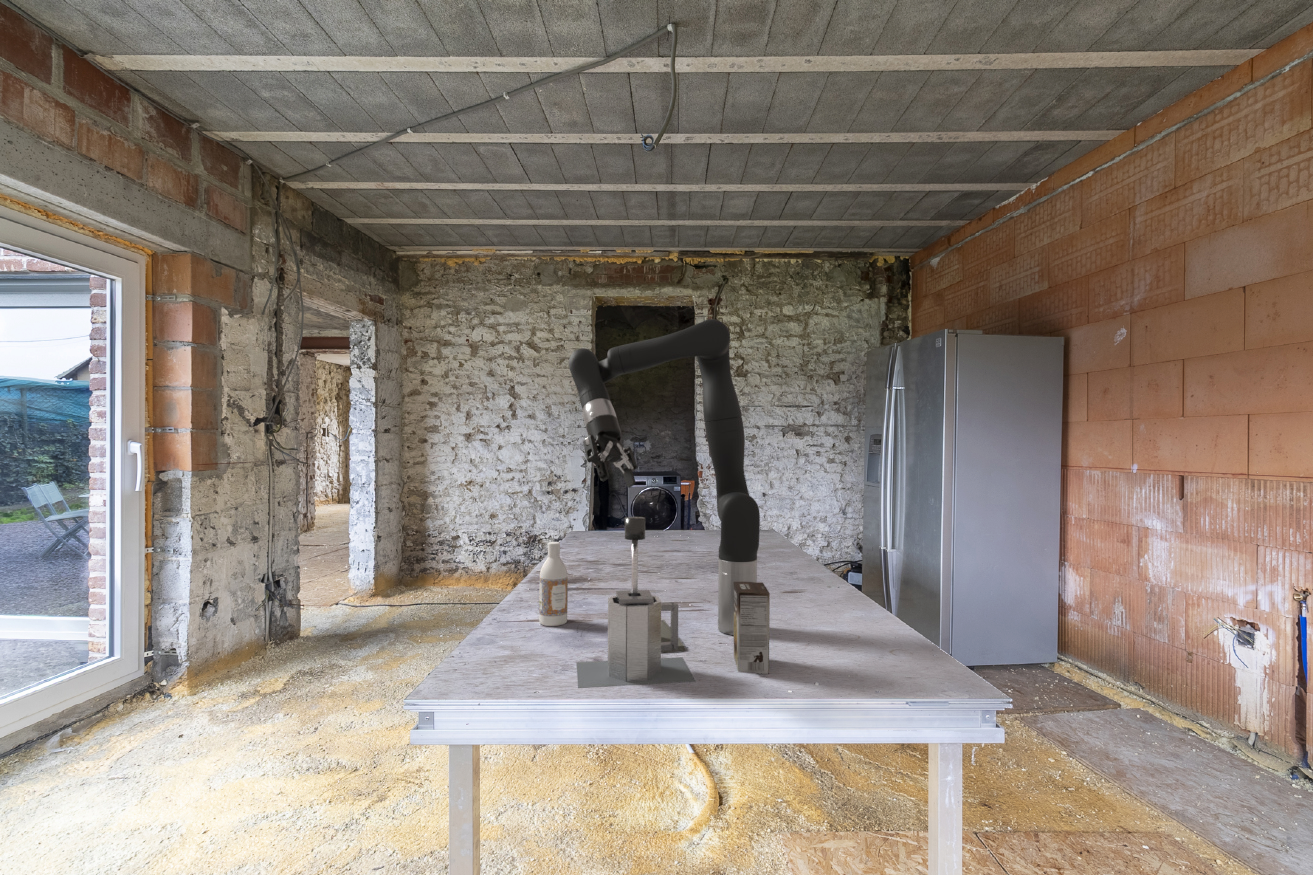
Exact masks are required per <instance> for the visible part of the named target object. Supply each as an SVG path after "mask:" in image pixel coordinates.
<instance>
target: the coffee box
mask: <svg viewBox="0 0 1313 875" xmlns="http://www.w3.org/2000/svg"><path fill="white" fill-rule="evenodd" d="M770 595H771V594H770V592H769V590H768V588H767V586H766V585H765V583H764V582H762V581H761V582H758V581H757V582H734V635H733V658H734V662H735V666H736V670H737V672H739V673H755V674H757V673H759V674H758V675H769V674H768V673H770V621H771V620H770V619H771V618H770V617H771V616H770V615H771V613H770V612H771V611H770V608H771V606H770V605H771V604H770V601H771V599H770V598H771V597H770ZM761 673H762V674H761Z"/></svg>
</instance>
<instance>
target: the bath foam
mask: <svg viewBox="0 0 1313 875" xmlns="http://www.w3.org/2000/svg"><path fill="white" fill-rule="evenodd" d="M560 556H561V543H560V542H559V541H549V542H548V543H547V557H546V560H545V561H544V563H543V564H542V567H541V568H540V571H539V572H540V573H539V586H538V587H539V589H538V590H539V594H538V595H539V599H538V600H539V604H538V605H539V606H538V610H539V611H538V612H539V613H538V616H539V617H538V618H539V619H538V622H539V624H540V625H542V626H543V627H544V626H545V627H558V626H563V625H565V624H566V623H567V622H568V606H569V605H568V597H569V596H568V594H569V593H568V592H569V588H568V587H569V586H568V582H569V581H568V580H569V578H568V577H569V575H568V574H569V573H568V569H567V566H566V564H565V563H564V561H563V560H562V558H561V557H560Z"/></svg>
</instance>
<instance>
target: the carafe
mask: <svg viewBox="0 0 1313 875" xmlns="http://www.w3.org/2000/svg"><path fill="white" fill-rule="evenodd" d="M631 604H637V606H631ZM662 612H670V628H671V642H661V620H662ZM678 638H679V603H678V602H677V601H675V602H662V601H661V599H660V597H659V596H658V595H654V594H653V595H652V593H651V592H650V590H649V589H643V590H639V589H638V596H631V590H616V591H615V595H613V596H610V597H608V599H607V661H608V673H609V677H611V678H615V679H618V680H621V681H624V682H626V681H627V682H636V681H647V680H648V681H649V680H651V679H652V678H654V677H656V676H658V675H660V674H661V658H662V653H661V651H675V650H678Z"/></svg>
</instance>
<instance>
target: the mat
mask: <svg viewBox="0 0 1313 875" xmlns="http://www.w3.org/2000/svg"><path fill="white" fill-rule="evenodd" d="M576 676H577V688H578V689H583V688H585V689H587V688H589V689H590V688H605V687H623V686H640V685H642V686H643V685H659V684H660V685H661V684H678V683H681V684H682V683H693V682H695V683H696V682H697V680H696V679H695V677H694V675H693V673H692V672H691V670H690V668H689V666H688V664H687V663H686V661H685V659H684V657H683V656H681V657H661V674H660V675H658V676H656V677H654V678H652V679H651V680H649V681H648V680H647V681H636V682H627V681H626V682H624V681H621V680H618V679H615V678H611V677H609V673H608V660H597V661H578V662H577V661H576Z"/></svg>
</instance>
